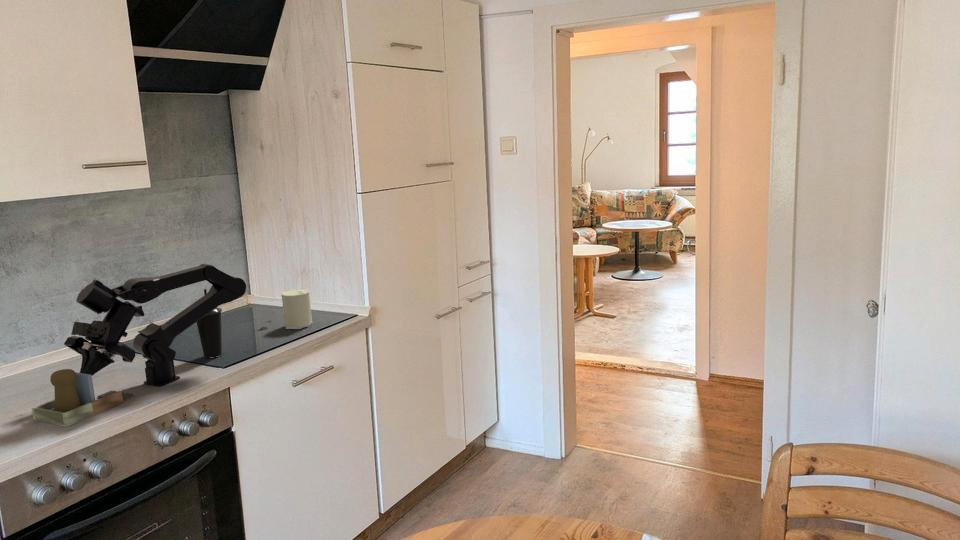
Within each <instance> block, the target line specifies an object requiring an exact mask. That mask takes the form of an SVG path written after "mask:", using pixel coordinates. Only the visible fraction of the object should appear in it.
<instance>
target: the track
mask: <svg viewBox="0 0 960 540" xmlns="http://www.w3.org/2000/svg"><path fill="white" fill-rule="evenodd" d="M116 391H117V390H116ZM122 392H123V391H121V390H118V391H117V392H115V393H113V394H110V395H108V396H105V397H103V398H98V399H95V401H93V402H90V403H88V404H85V405H83V406H80V407H78V408H75V409H73V410H70V411H68V412H65V413H63V412H58V411H53V410H50V409H52V408H55V398H54V399H52V400H49V401H46V402H44V403H40V404H38V405H36V406H33V407H31V412H32V418H33V421H36V422H41V423H46V424H51V425H57V426H61V427H69V426H72V425H75V424H76V422H77V423H79V422H82V421H83V419H84V420H86V419H88V418H87V417H89V418H91V417H93V416H96V415H98V414H100V413H103V412H105V411H107V410H109V408H110V409H112V408H114V406H115V407H117V406H119V405H121V403H122V404H123V403H124V400H123V398H122ZM104 410H105V411H104ZM102 411H103V412H102ZM97 413H98V414H97ZM95 414H96V415H95ZM90 416H91V417H90ZM85 418H86V419H85Z"/></svg>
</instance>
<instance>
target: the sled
mask: <svg viewBox="0 0 960 540" xmlns="http://www.w3.org/2000/svg"><path fill="white" fill-rule="evenodd" d="M75 373H76V381H75V385H76V388H77V391H78V394H79V397H80V400H81V403H82V406H83V405H85V404H88V403H90V402H93V401H95V400H96V394H95V389H94V383H93V377H92V375H90V374H84V373H80V372H76V371H75ZM50 410H53V411H55V408H52V409H50Z"/></svg>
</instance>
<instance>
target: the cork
mask: <svg viewBox="0 0 960 540" xmlns="http://www.w3.org/2000/svg"><path fill="white" fill-rule="evenodd" d="M75 372H76V371H75V370H73V369H70V368H65V369H59V370H56V371H54V372H52V373H51V374H50V380H49V381H50V383H51V385H52V386H53V387H54V399H55V411H58V412H63V413H65V412H68V411H70V410H73V409H75V408H78V407H80V406H82V403H81V400H80V397H79V394H78V391H77V388H76V385H75V381H76V373H75Z"/></svg>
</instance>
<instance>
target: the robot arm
mask: <svg viewBox="0 0 960 540" xmlns="http://www.w3.org/2000/svg"><path fill="white" fill-rule="evenodd" d="M203 281H207V282H208V284H209V285H211V286H210V289H209V290H208V291H207V294H206V295H203V296H202V297H200V298H199V299H197V300H196V301H195V302H192V304H190V305H188V306H187V307H186V308H185V309H183V310H181V311H180V312H179V313H177V314H176V315H174V316H173V317H171V318H170V319H168V320H166V321H165V322H164V323H162V324H160V325H158V324H157V323H153V322H150V323H149V324H148V325H147V326H146V327H144V328H143V329H141V330H137V333H138V334H137V335H136V336H135V337H134V338H133V343H132V344H133V345H132V346H133V348H131V347H130V346H128V345H126V344H125V343H124V342H122V341H121V339H122V338H127V337H128V334H129V333H128V332H127V331H126V330H127V328H128V327H129V326H130V324H131V322H132V320H133V319H134V317H136V318H137V317H138V318H139V317H144V316H145V312H144V310H143V305H134V304H133V303H136V304H146V303H148V302H151V301H152V300H155V299H157V298H158V297H159V296H161V295H163V294H164V293H166V292H169V291H172V290H176V289H179V288H183V287H186V286H190V285H193V284H196V283H200V282H203ZM246 290H247V283H246V281H245V280H244V279H242V278H241V277H237V276H233V275H230V274H227V273H226V272H224V271H223V270H220V269H218V268H217V267H215V266H214V265H212V264H207V263H201V264H199V265H197V266H192V267H190V268H186V269H182V270H179V271H175V272H171V273H167V274H164V275H159V276H152V277H151V276H147V277H146V276H145V277H136V278H135V277H133V278H129V279H127V280H126V281H124V283H123V284H121V285H119V286H115V287H113V288H110V287H108V286H106V285H105V284H104V283H103V282H102V281H100V280H98V279H95V278H94V279H93V280H92V282H90V283H88V284H87V285H86V286H85V287H84V288H81V290H80V292H78V294H77V297H76V303H78V304H80V305H81V306H83V307H85V308H87V309H88V310H90V311H92V312H93V313H95V314H98V315H100V314H102V313H104V314H105V313H106V314H105V315H104V318H103V319H102V320H93V321H91V323H88V322H82V321H81V322H80V321H74V322H73V327H72V330H71V334H70V335H71V336H69V337H67V339H66V340H65V341H64V343H63V345H64V346H65V347H67V348H69V349H71V350H72V351H74V352H76V353H77V354H78V355H80V356H81V357H82V359H81V364H80V365H81V366H80V371H79V373H84V374H90V375H92V376H95V375H96V374H97V373H98V372H100V371H101V370H102V369H104V368H106V367H108V366H109V365H111V364H114V363H115V360H114V359H115V356H120V357H121V358H122V359H121V360H122V361H123V362H125V363H133V361H134V359H135V358H136V356H137V355H136V352H137V353H139V354H141V356H143V357H142V358H143V359H146V361H144V363H145V368H144V373H145V379H146V380H145V381H143V384H144V385H151V386H158V387H162V386H165V385H167V384H169V383H172V382H175V381H177V380H179V379H181V376H180V375H176V371H175V362H174V360H175V358H176V355H177V353H176V350H173V349H172V348H171V346H172V344H173V342H174V340H175V339H176V337H178V336H179V335H181V333H183V332H184V331H186V330H187V329H189V328H190V327H191V326H193V325H194V324H197V321H198V320H200V319H201V318H203V317H204V316H205V315H207V314H208V313H210V312H211V311H212V310H214V309H215V308H219V306H223V305H225V304H228V303H232V302H234V301H236V300H238V299H239V298H242V297H243V296H244V295H245V294H246V292H247V291H246ZM120 299H121V300H124V301H121V300H120ZM129 301H131V302H129ZM132 302H133V303H132ZM77 335H78V336H77Z"/></svg>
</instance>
